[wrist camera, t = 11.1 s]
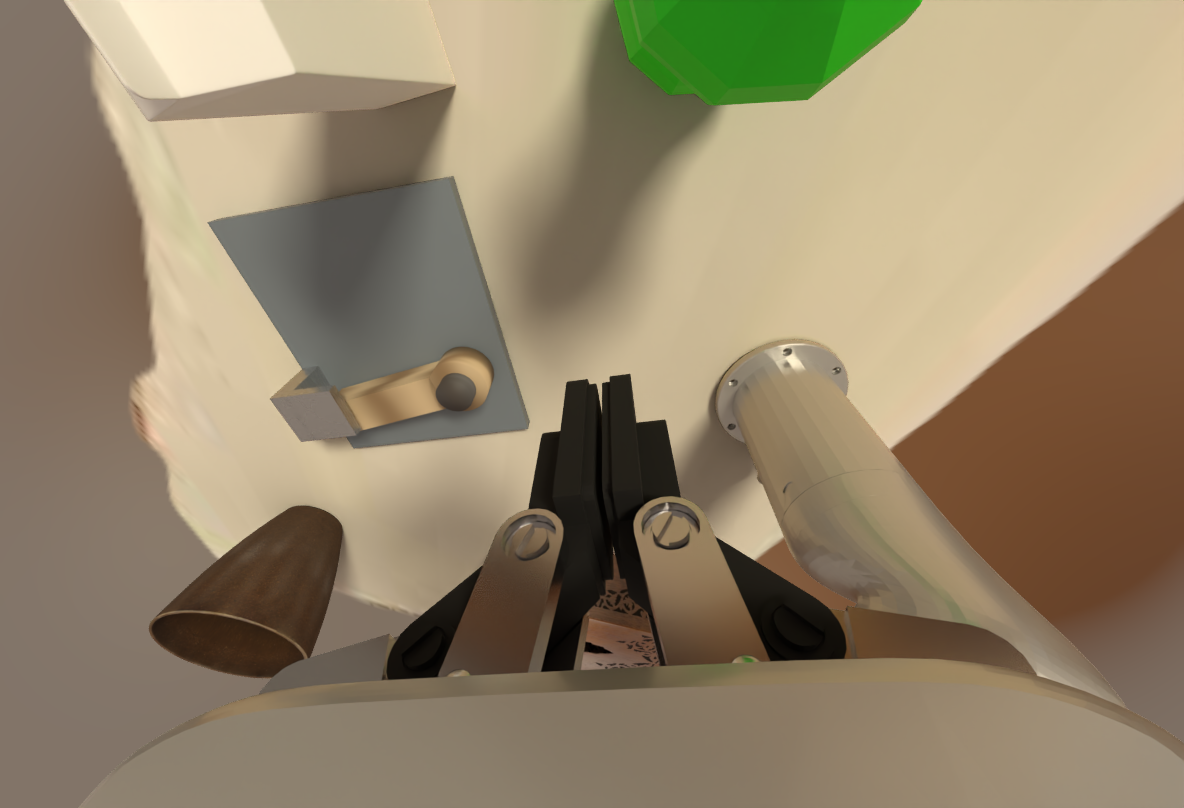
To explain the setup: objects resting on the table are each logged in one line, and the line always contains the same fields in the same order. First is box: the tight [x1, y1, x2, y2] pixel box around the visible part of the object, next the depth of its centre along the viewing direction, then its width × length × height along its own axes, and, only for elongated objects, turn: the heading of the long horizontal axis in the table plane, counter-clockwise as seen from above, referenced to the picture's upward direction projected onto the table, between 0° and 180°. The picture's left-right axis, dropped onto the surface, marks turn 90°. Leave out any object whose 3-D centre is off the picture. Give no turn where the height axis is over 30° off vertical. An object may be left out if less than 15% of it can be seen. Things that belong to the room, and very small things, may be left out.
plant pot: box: [149, 506, 342, 678], centre depth 51 cm, size 15×15×16 cm
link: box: [339, 347, 494, 431], centre depth 40 cm, size 16×5×4 cm, turn 108°
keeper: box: [270, 366, 361, 442], centre depth 41 cm, size 5×6×6 cm
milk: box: [64, 0, 456, 122], centre depth 19 cm, size 6×6×22 cm
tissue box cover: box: [581, 555, 659, 670], centre depth 60 cm, size 26×14×10 cm, turn 67°
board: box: [207, 176, 530, 448], centre depth 40 cm, size 24×20×1 cm
